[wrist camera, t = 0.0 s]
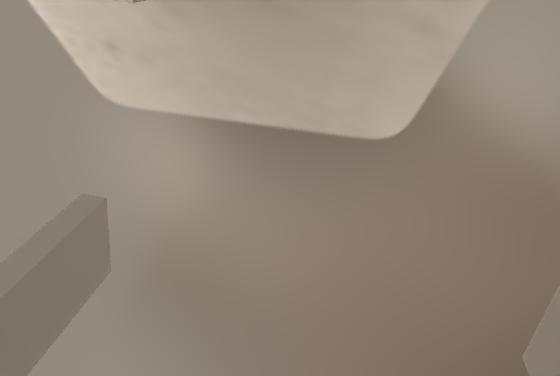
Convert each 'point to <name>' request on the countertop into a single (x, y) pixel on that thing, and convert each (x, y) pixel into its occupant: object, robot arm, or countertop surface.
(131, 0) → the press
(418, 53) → the countertop surface
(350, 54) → the countertop surface
